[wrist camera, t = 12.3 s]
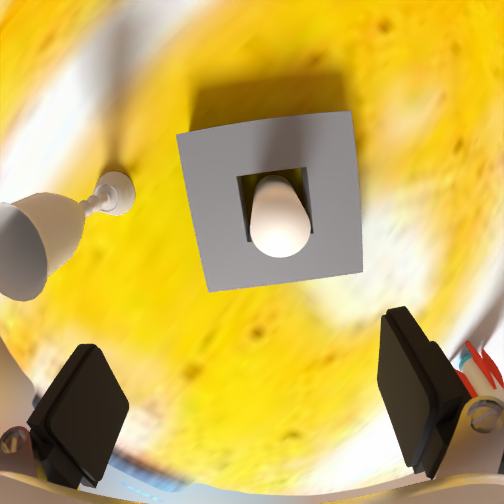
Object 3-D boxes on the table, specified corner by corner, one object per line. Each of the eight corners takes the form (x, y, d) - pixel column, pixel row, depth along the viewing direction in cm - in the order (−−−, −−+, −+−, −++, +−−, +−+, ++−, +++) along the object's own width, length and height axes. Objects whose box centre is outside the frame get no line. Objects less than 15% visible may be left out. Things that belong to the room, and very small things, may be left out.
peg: (251, 177, 32) (245, 204, 21) (291, 172, 32) (307, 195, 21) (257, 215, 33) (254, 261, 22) (295, 210, 33) (312, 253, 22)
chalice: (138, 156, 31) (30, 190, 15) (150, 218, 34) (62, 299, 17) (81, 170, 32) (-35, 213, 15) (94, 227, 34) (-6, 302, 18)
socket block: (188, 133, 30) (175, 134, 26) (337, 113, 29) (351, 110, 25) (215, 270, 36) (208, 292, 31) (350, 253, 35) (362, 272, 30)
